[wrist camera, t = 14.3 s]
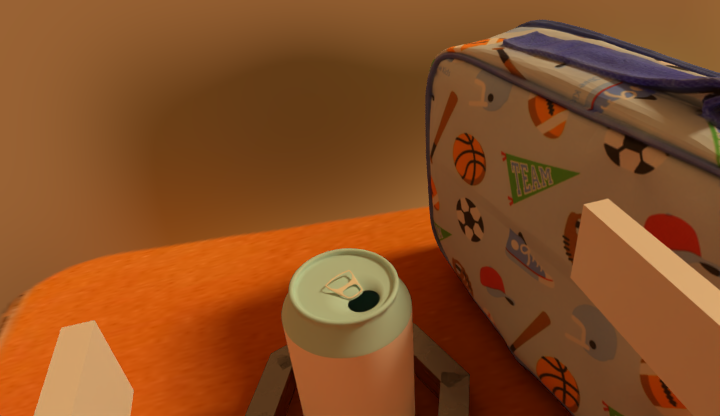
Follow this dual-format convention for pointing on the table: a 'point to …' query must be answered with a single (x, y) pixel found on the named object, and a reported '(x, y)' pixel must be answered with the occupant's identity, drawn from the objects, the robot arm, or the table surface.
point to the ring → (428, 366)
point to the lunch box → (569, 191)
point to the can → (350, 336)
